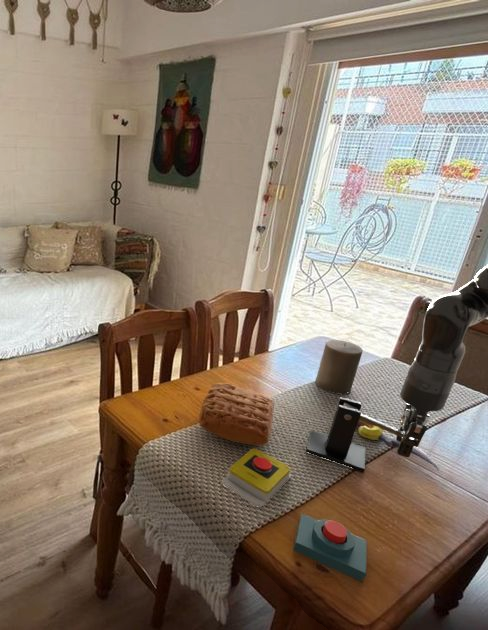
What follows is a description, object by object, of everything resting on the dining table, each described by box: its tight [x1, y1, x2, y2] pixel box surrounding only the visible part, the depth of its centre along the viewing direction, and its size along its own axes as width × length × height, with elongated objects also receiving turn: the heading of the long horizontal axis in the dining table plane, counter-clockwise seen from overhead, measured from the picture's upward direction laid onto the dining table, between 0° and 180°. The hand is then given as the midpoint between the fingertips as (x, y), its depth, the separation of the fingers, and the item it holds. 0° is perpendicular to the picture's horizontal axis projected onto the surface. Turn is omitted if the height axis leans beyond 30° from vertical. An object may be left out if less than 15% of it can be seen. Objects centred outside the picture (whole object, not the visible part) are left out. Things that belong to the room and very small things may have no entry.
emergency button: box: [221, 447, 292, 508], centre depth 97 cm, size 9×4×15 cm
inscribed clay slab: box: [198, 382, 275, 446], centre depth 114 cm, size 22×17×8 cm
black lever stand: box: [305, 396, 366, 474], centre depth 104 cm, size 12×9×14 cm
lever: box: [343, 402, 412, 438], centre depth 100 cm, size 14×5×2 cm, turn 57°
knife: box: [334, 410, 440, 472], centre depth 111 cm, size 8×3×25 cm
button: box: [323, 520, 348, 544], centre depth 80 cm, size 4×4×2 cm
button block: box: [292, 513, 368, 583], centre depth 81 cm, size 11×8×4 cm
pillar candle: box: [314, 339, 364, 395], centre depth 133 cm, size 10×10×15 cm
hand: (402, 447), depth 98 cm, fingers closed on lever, 5 cm apart
